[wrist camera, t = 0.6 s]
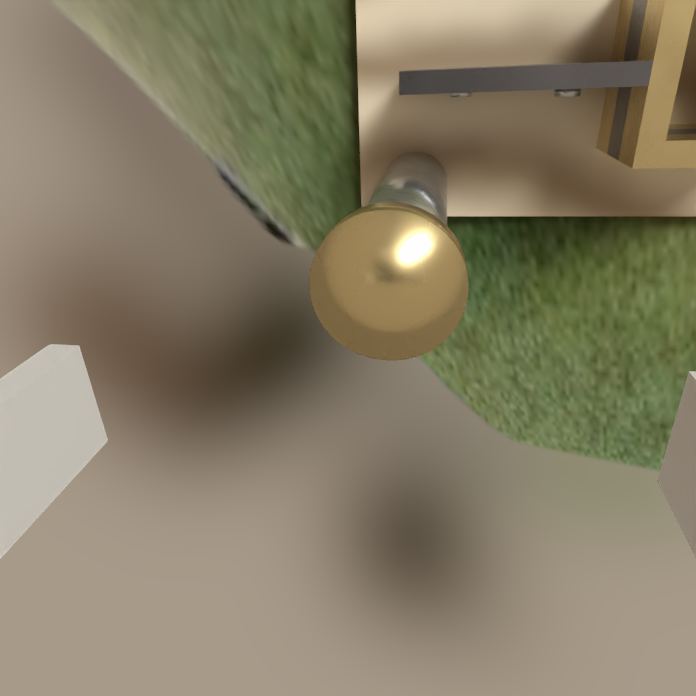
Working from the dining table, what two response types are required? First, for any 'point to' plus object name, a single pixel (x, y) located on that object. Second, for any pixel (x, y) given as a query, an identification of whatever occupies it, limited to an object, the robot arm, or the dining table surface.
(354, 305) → the hinge pin
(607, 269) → the dining table surface
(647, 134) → the hinge
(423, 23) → the mounting board
